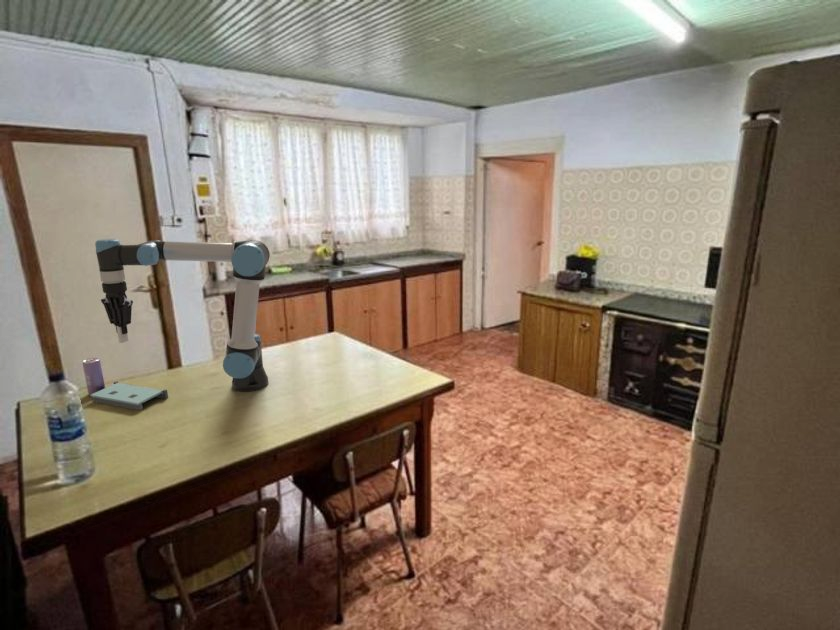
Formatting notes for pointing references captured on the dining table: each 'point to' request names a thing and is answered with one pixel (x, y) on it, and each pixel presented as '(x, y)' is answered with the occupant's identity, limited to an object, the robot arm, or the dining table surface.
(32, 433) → the dining table surface
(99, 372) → the beverage can
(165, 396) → the plastic rails
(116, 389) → the cover
